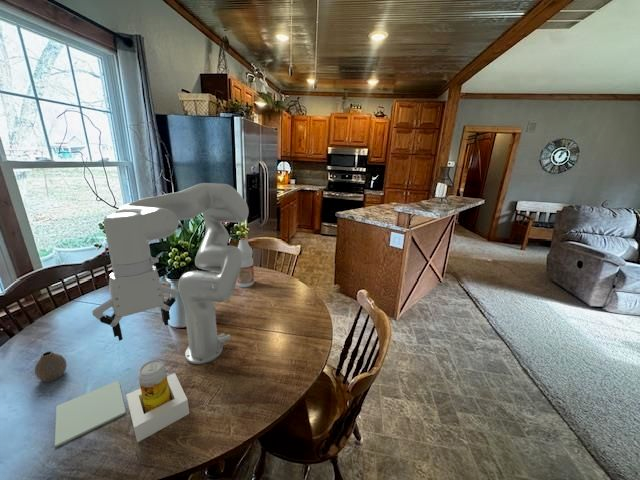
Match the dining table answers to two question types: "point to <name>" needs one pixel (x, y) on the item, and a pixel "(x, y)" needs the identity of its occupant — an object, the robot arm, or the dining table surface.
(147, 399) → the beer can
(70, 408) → the mat
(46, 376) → the vase
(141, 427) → the sleeve
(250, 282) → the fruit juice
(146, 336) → the dining table surface
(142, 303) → the robot arm
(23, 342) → the dining table surface
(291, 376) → the dining table surface
